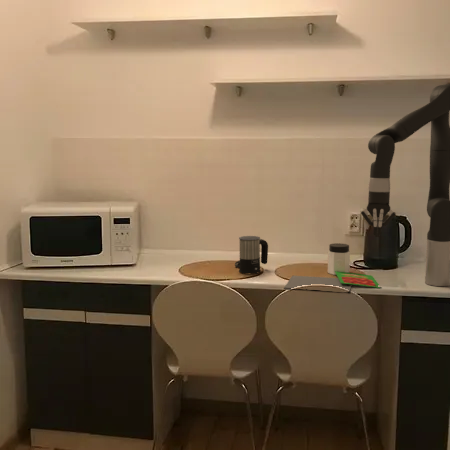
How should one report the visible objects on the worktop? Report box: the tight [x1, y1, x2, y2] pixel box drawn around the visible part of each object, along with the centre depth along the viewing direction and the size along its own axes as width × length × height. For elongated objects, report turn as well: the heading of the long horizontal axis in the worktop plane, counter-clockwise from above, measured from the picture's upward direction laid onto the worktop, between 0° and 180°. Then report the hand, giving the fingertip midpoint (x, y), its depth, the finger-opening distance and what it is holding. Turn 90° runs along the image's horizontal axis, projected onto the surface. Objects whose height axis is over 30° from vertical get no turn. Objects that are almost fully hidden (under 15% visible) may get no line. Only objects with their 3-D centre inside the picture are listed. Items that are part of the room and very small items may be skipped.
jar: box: [327, 242, 351, 276], centre depth 244 cm, size 9×8×12 cm
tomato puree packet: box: [335, 271, 381, 289], centre depth 230 cm, size 15×1×20 cm
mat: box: [283, 275, 352, 291], centre depth 226 cm, size 24×20×1 cm
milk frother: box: [234, 235, 269, 274], centre depth 251 cm, size 14×16×15 cm
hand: (377, 236), depth 217 cm, fingers closed
